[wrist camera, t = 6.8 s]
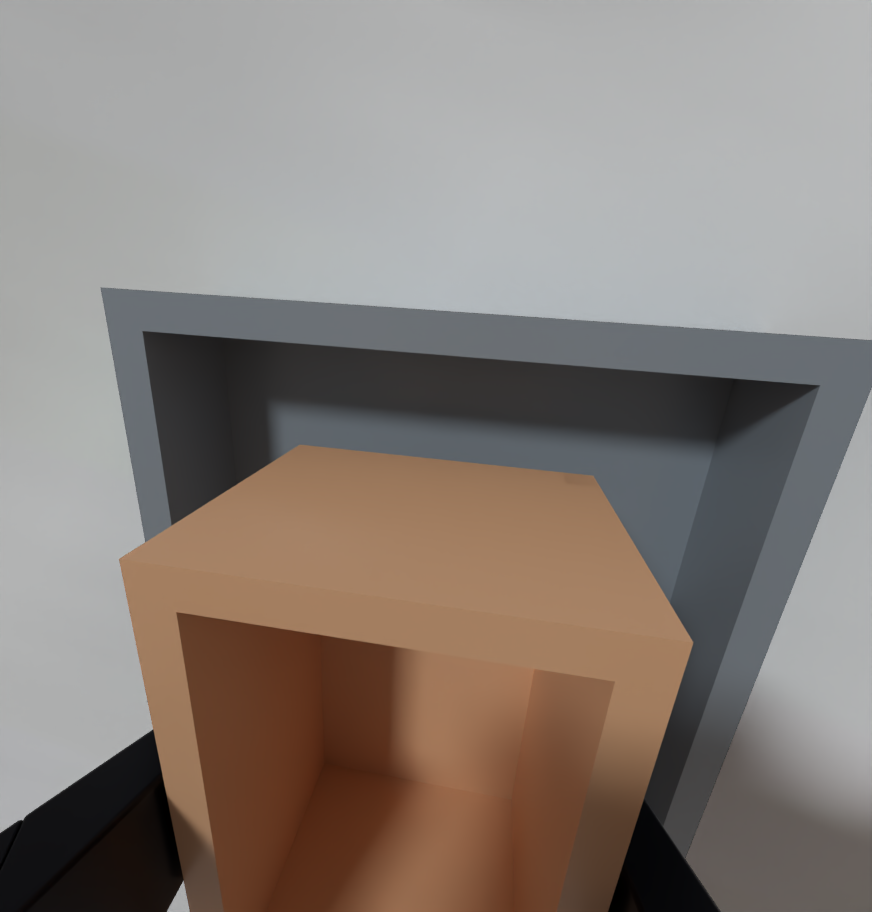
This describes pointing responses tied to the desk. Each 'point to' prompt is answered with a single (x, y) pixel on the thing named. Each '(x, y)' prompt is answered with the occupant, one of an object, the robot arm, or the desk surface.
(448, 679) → the small crate
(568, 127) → the desk surface
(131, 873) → the robot arm
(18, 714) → the desk surface
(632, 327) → the big crate
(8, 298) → the desk surface
